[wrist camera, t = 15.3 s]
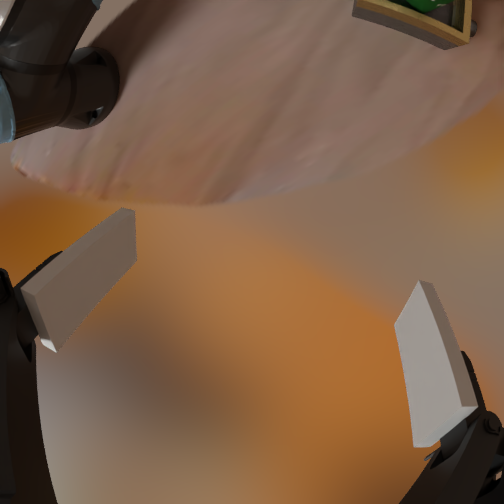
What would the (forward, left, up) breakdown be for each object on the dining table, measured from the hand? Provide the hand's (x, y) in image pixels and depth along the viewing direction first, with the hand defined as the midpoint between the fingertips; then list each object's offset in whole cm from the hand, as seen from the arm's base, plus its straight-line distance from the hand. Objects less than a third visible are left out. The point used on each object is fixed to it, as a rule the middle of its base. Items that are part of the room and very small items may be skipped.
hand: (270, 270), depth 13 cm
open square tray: (+11, +28, -32) cm, 44 cm away
